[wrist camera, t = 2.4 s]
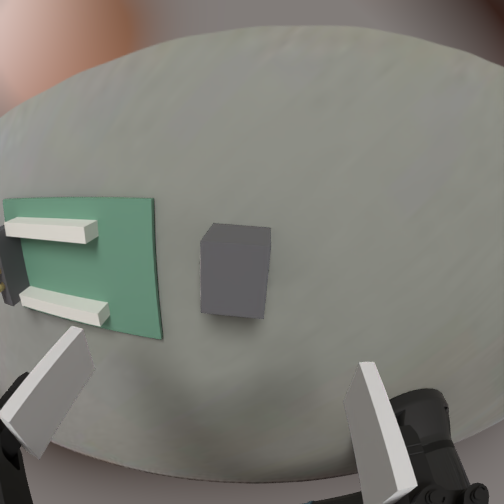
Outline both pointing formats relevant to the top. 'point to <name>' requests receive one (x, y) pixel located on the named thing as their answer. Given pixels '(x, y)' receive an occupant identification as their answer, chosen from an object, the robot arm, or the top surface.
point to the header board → (83, 260)
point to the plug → (234, 270)
